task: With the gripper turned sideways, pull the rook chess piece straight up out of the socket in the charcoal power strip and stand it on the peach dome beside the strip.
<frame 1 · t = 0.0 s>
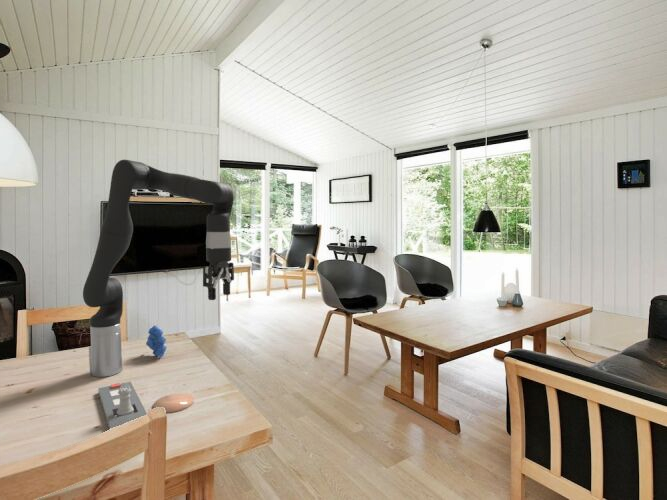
hand: (219, 297, 126), 29 cm above the table, tool pointing down, fingers open, 8 cm apart
peach dome: (174, 403, 116), on the table
power strip: (122, 407, 114), on the table
rook chess piece: (125, 416, 109), resting in power strip
grapes: (155, 357, 156), on the table
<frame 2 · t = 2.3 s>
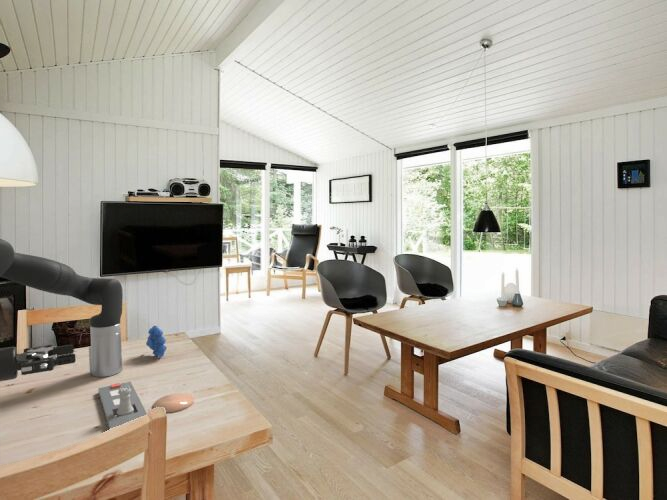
hand: (74, 353, 101), 20 cm above the table, tool horizontal, fingers open, 8 cm apart
nothing on the table moved.
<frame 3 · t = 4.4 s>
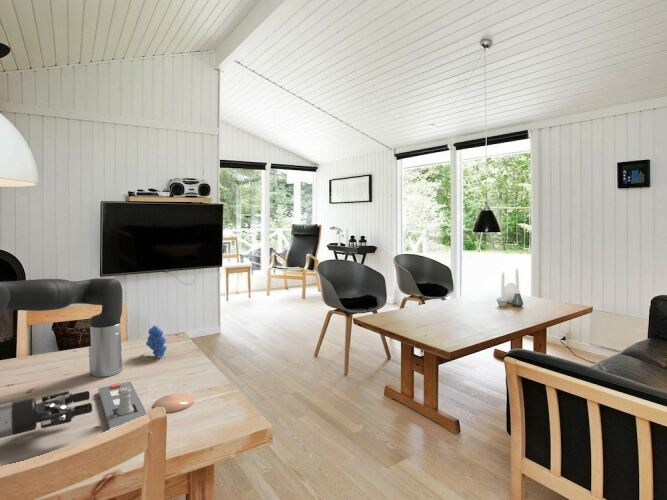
hand: (90, 400, 104), 6 cm above the table, tool horizontal, fingers open, 8 cm apart
nothing on the table moved.
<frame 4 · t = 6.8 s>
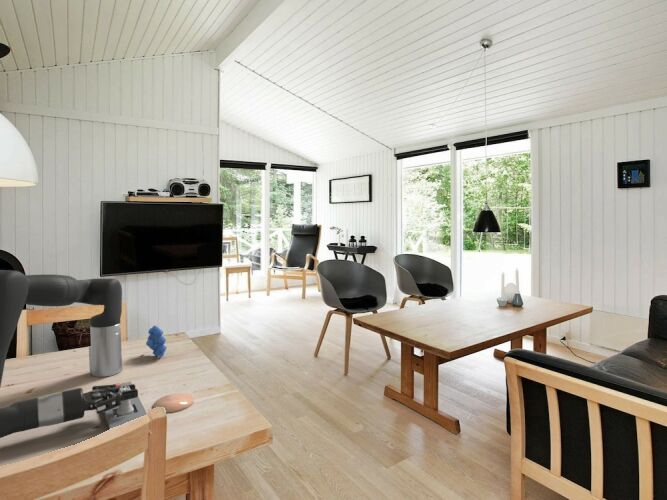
hand: (136, 390, 110), 7 cm above the table, tool horizontal, fingers closed on rook chess piece, 3 cm apart
rook chess piece: (125, 416, 109), resting in power strip, touching gripper
everything else where it was.
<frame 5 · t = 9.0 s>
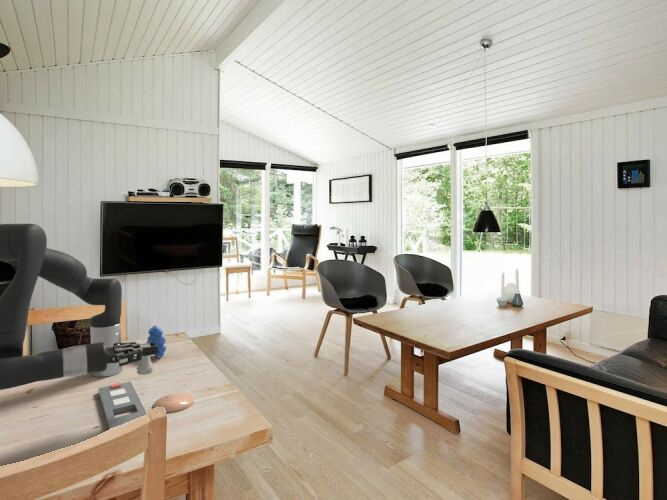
hand: (155, 347, 112), 18 cm above the table, tool horizontal, fingers closed on rook chess piece, 3 cm apart
rook chess piece: (145, 373, 111), point 11 cm above the table, touching gripper
everything else where it was.
when the fingers open (8 cm above the table, at t = 11.5 s): rook chess piece drops 1 cm, resting on peach dome.
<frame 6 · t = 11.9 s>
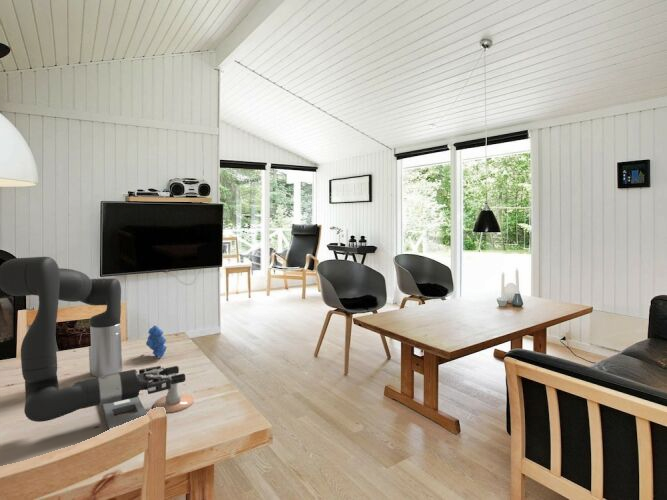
hand: (181, 373, 117), 9 cm above the table, tool horizontal, fingers open, 6 cm apart
rook chess piece: (173, 402, 116), resting on peach dome
everything else where it was.
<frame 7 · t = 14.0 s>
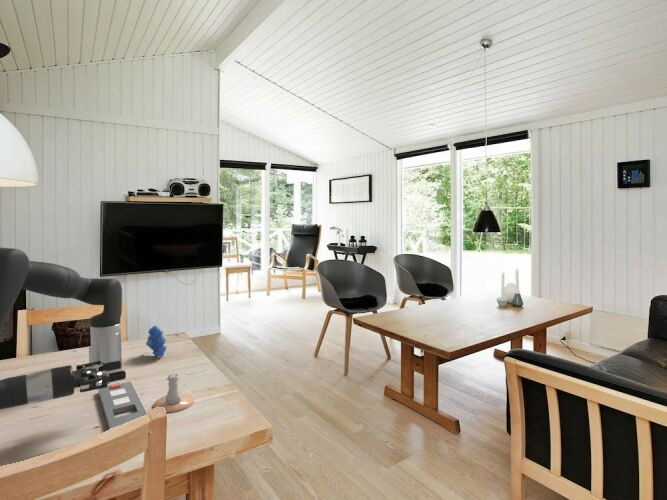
hand: (123, 369, 109), 13 cm above the table, tool horizontal, fingers open, 8 cm apart
nothing on the table moved.
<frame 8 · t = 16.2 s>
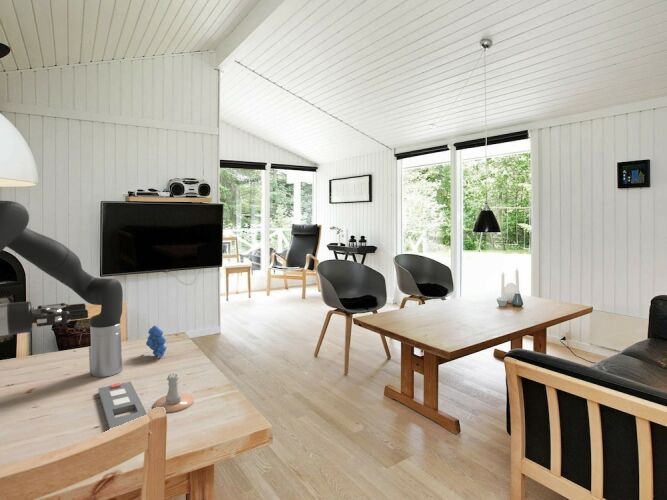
hand: (86, 310, 104), 30 cm above the table, tool horizontal, fingers open, 8 cm apart
nothing on the table moved.
at the end: rook chess piece 0.1 cm off-centre on the peach dome, point 0.4 cm above the peach dome's base; rook chess piece tilted 0°; the gripper is holding nothing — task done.
